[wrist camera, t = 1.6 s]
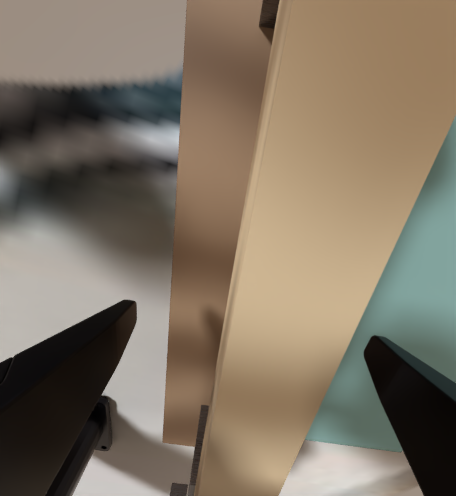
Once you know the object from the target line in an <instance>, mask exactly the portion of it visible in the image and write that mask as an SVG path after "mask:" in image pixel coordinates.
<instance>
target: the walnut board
mask: <svg viewBox="0 0 456 496" xmlns="http://www.w3.org/2000/svg"><path fill="white" fill-rule="evenodd" d="M262 1H263V0H187V10H186V27H185V46H184V63H183V81H182V99H181V117H180V135H179V154H178V172H177V190H176V208H175V226H174V244H173V262H172V280H171V298H170V316H169V335H168V353H167V371H166V389H165V407H164V425H163V443H169V444H177V445H185V446H193V447H195V444H196V437H197V430H198V423H199V416H200V410H201V405H207V406H209V405H210V399H211V393H212V387H213V381H214V376H215V370H216V364H217V358H218V353H219V347H220V341H221V335H222V330H223V324H224V318H225V312H226V306H227V301H228V295H229V289H230V283H231V278H232V272H233V266H234V260H235V255H236V249H237V243H238V237H239V231H240V226H241V220H242V214H243V208H244V203H245V197H246V191H247V185H248V180H249V174H250V168H251V162H252V156H253V151H254V145H255V139H256V133H257V128H258V122H259V116H260V110H261V105H262V99H263V93H264V87H265V81H266V76H267V70H268V64H269V58H270V53H271V47H272V41H273V35H274V30H275V29H272V28H266V27H260V26H259V21H260V14H261V7H262Z"/></svg>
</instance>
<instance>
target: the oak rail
mask: <svg viewBox="0 0 456 496" xmlns="http://www.w3.org/2000/svg"><path fill="white" fill-rule="evenodd" d="M455 116H456V0H280V1H279V6H278V12H277V18H276V24H275V30H274V35H273V41H272V47H271V53H270V58H269V64H268V70H267V76H266V81H265V87H264V93H263V99H262V105H261V110H260V116H259V122H258V128H257V133H256V139H255V145H254V151H253V156H252V162H251V168H250V174H249V180H248V185H247V191H246V197H245V203H244V208H243V214H242V220H241V226H240V231H239V237H238V243H237V249H236V255H235V260H234V266H233V272H232V278H231V283H230V289H229V295H228V301H227V306H226V312H225V318H224V324H223V330H222V335H221V341H220V347H219V353H218V358H217V364H216V370H215V376H214V381H213V387H212V393H211V399H210V405H209V410H208V416H207V422H206V428H205V433H204V439H203V445H202V451H201V456H200V462H199V468H198V474H197V480H196V485H195V491H194V496H278V495H279V493H280V491H281V489H282V487H283V485H284V482H285V480H286V478H287V476H288V474H289V472H290V470H291V467H292V465H293V463H294V461H295V459H296V457H297V455H298V452H299V450H300V448H301V446H302V444H303V442H304V440H305V437H306V435H307V433H308V431H309V429H310V427H311V425H312V422H313V420H314V418H315V416H316V414H317V412H318V410H319V407H320V405H321V403H322V401H323V399H324V397H325V395H326V392H327V390H328V388H329V386H330V384H331V382H332V379H333V377H334V375H335V373H336V371H337V369H338V367H339V364H340V362H341V360H342V358H343V356H344V354H345V352H346V349H347V347H348V345H349V343H350V341H351V339H352V337H353V334H354V332H355V330H356V328H357V326H358V324H359V322H360V319H361V317H362V315H363V313H364V311H365V309H366V307H367V304H368V302H369V300H370V298H371V296H372V294H373V292H374V289H375V287H376V285H377V283H378V281H379V279H380V277H381V274H382V272H383V270H384V268H385V266H386V264H387V262H388V259H389V257H390V255H391V253H392V251H393V249H394V247H395V244H396V242H397V240H398V238H399V236H400V234H401V232H402V229H403V227H404V225H405V223H406V221H407V219H408V217H409V214H410V212H411V210H412V208H413V206H414V204H415V202H416V199H417V197H418V195H419V193H420V191H421V189H422V187H423V184H424V182H425V180H426V178H427V176H428V174H429V172H430V169H431V167H432V165H433V163H434V161H435V159H436V157H437V154H438V152H439V150H440V148H441V146H442V144H443V142H444V139H445V137H446V135H447V133H448V131H449V129H450V126H451V124H452V122H453V120H454V118H455Z"/></svg>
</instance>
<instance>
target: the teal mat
mask: <svg viewBox="0 0 456 496" xmlns="http://www.w3.org/2000/svg"><path fill="white" fill-rule="evenodd" d="M373 335H377V336H383V337H386V338H388V339H389V340H391V341H392V342H394V343H395V344H397V345H398V346H400V347H401V348H403V349H404V350H406V351H408V352H409V353H411V354H412V355H414V356H415V357H417V358H418V359H420V360H421V361H423V362H424V363H426V364H427V365H429V366H430V367H432V368H434V369H435V370H437V371H438V372H440V373H441V374H443V375H444V376H446V377H447V378H449V379H450V380H452V381H453V382H456V116H455V118H454V120H453V122H452V124H451V126H450V129H449V131H448V133H447V135H446V137H445V139H444V142H443V144H442V146H441V148H440V150H439V152H438V154H437V157H436V159H435V161H434V163H433V165H432V167H431V169H430V172H429V174H428V176H427V178H426V180H425V182H424V184H423V187H422V189H421V191H420V193H419V195H418V197H417V199H416V202H415V204H414V206H413V208H412V210H411V212H410V214H409V217H408V219H407V221H406V223H405V225H404V227H403V229H402V232H401V234H400V236H399V238H398V240H397V242H396V244H395V247H394V249H393V251H392V253H391V255H390V257H389V259H388V262H387V264H386V266H385V268H384V270H383V272H382V274H381V277H380V279H379V281H378V283H377V285H376V287H375V289H374V292H373V294H372V296H371V298H370V300H369V302H368V304H367V307H366V309H365V311H364V313H363V315H362V317H361V319H360V322H359V324H358V326H357V328H356V330H355V332H354V334H353V337H352V339H351V341H350V343H349V345H348V347H347V349H346V352H345V354H344V356H343V358H342V360H341V362H340V364H339V367H338V369H337V371H336V373H335V375H334V377H333V379H332V382H331V384H330V386H329V388H328V390H327V392H326V395H325V397H324V399H323V401H322V403H321V405H320V407H319V410H318V412H317V414H316V416H315V418H314V420H313V422H312V425H311V427H310V429H309V431H308V433H307V435H306V437H305V440H310V441H318V442H325V443H333V444H341V445H348V446H356V447H363V448H371V449H379V450H386V451H394V452H402V451H403V450H402V447H401V445H400V443H399V441H398V439H397V437H396V435H395V432H394V430H393V428H392V426H391V424H390V422H389V419H388V417H387V415H386V413H385V411H384V409H383V406H382V404H381V402H380V400H379V397H378V394H377V392H376V389H375V386H374V384H373V381H372V378H371V375H370V373H369V370H368V367H367V364H366V362H365V359H364V349H365V347H366V346H367V344H368V342H369V340H370V338H371V337H372V336H373Z"/></svg>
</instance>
